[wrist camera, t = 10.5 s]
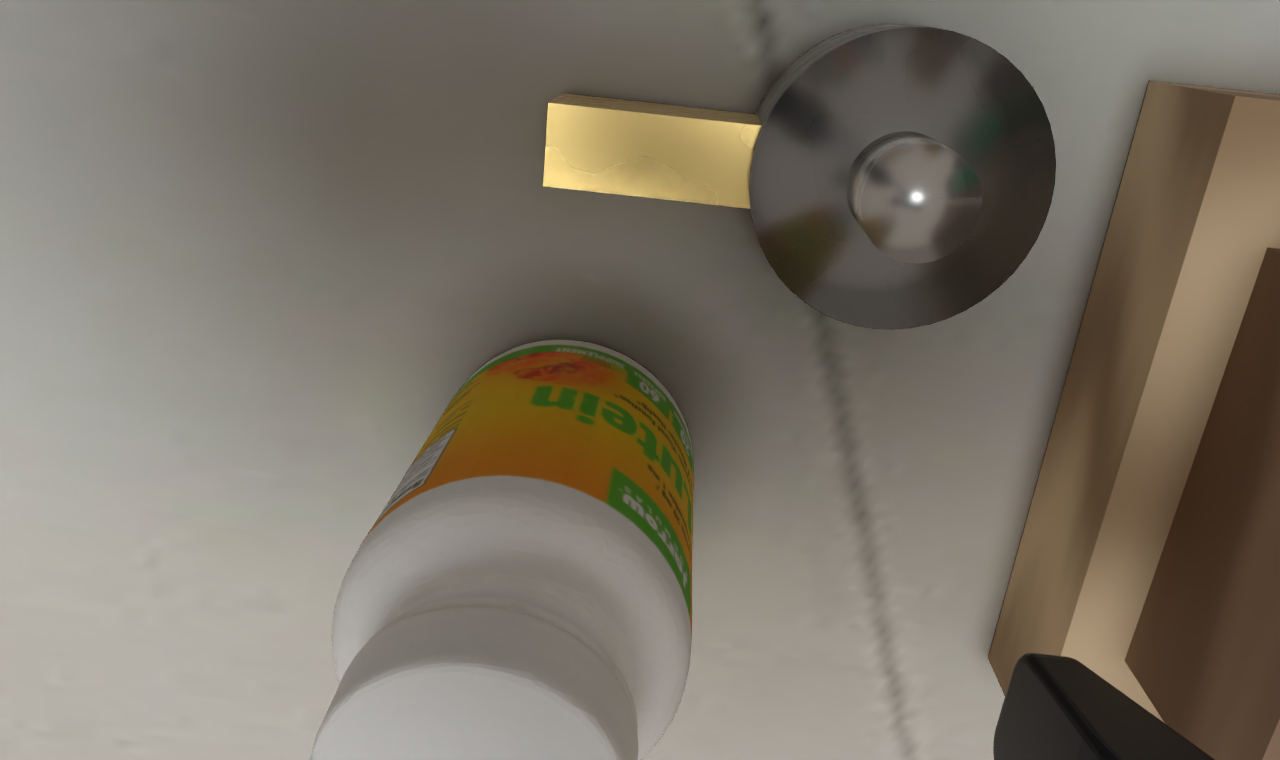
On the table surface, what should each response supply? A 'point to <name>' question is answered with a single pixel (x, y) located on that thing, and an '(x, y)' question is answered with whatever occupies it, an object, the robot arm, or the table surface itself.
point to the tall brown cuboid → (1225, 561)
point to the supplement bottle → (525, 574)
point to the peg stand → (1144, 374)
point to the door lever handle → (847, 169)
